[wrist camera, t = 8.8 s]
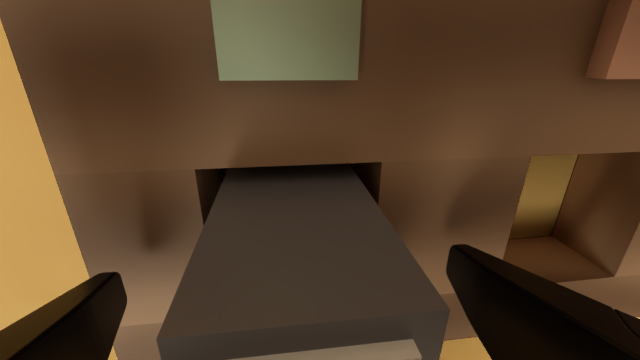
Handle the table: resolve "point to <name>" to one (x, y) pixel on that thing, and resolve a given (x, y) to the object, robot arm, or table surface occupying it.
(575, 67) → the socket board
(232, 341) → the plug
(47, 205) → the table surface
